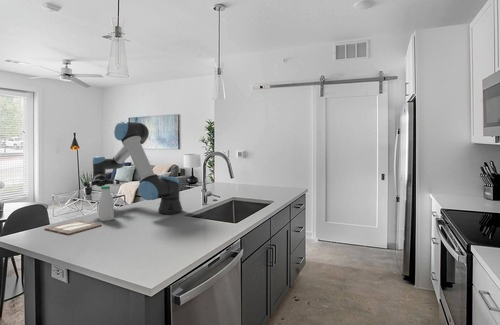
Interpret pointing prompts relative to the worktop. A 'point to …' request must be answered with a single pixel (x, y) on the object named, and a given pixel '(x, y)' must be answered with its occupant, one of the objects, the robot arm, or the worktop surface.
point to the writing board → (73, 227)
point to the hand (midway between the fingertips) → (103, 184)
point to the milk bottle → (106, 204)
